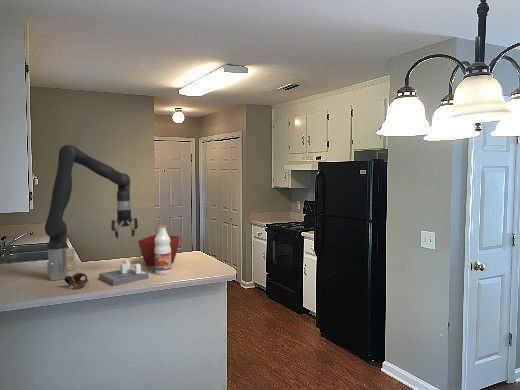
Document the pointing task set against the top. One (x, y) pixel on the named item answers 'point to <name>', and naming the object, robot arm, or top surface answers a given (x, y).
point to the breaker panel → (122, 277)
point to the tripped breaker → (123, 268)
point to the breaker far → (127, 264)
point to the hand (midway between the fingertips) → (125, 237)
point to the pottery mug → (76, 280)
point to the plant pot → (149, 245)
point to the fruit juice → (162, 251)
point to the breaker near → (137, 268)
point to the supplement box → (70, 258)
